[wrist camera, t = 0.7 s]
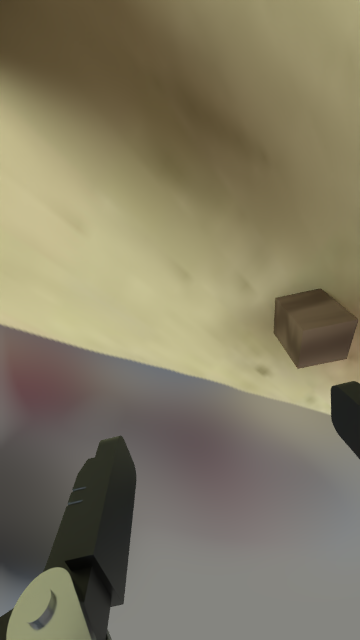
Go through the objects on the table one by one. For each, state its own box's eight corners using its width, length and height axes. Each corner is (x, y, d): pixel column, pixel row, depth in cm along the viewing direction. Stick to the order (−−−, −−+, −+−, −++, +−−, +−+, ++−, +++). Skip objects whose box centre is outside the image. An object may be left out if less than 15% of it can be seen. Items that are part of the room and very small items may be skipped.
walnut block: (275, 297, 27) (303, 330, 22) (320, 288, 27) (358, 319, 22) (273, 332, 30) (297, 368, 25) (314, 324, 30) (346, 358, 25)
